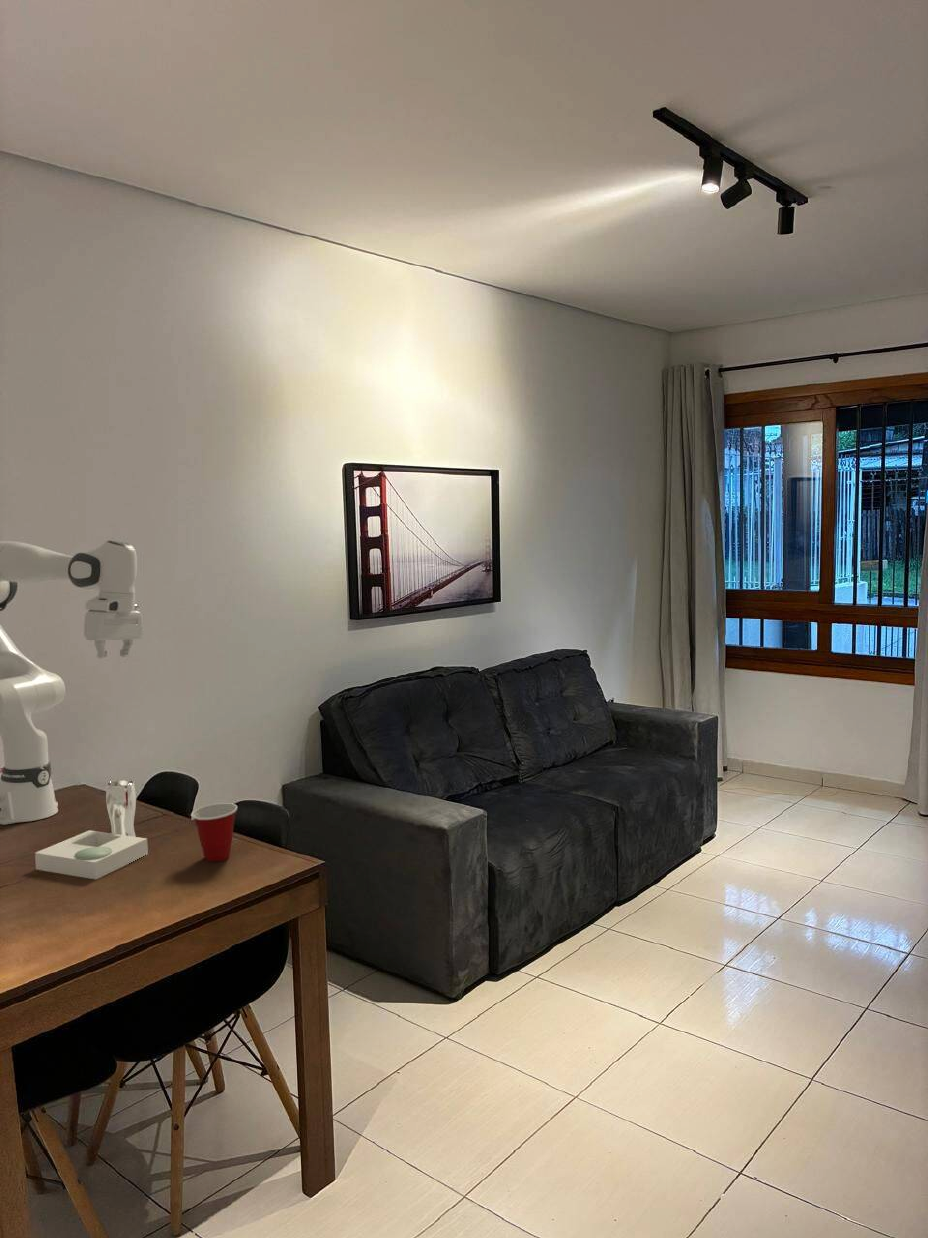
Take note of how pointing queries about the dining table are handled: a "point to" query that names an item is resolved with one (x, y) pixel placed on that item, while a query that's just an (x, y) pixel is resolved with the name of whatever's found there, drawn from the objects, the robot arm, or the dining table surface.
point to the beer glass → (121, 806)
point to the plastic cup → (215, 829)
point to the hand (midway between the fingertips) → (113, 657)
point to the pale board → (91, 854)
